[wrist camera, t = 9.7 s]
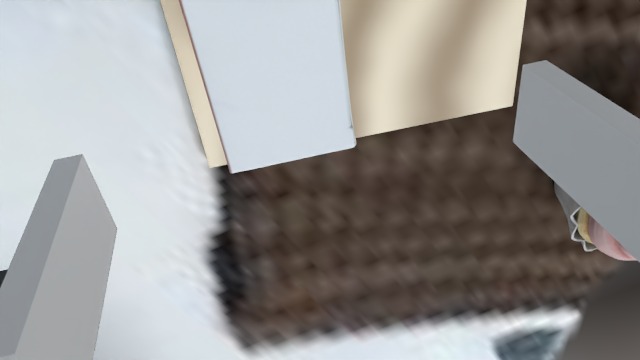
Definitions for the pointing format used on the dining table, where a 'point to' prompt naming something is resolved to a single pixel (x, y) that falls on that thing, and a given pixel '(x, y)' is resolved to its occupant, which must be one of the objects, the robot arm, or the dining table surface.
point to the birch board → (398, 62)
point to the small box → (273, 77)
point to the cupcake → (589, 229)
